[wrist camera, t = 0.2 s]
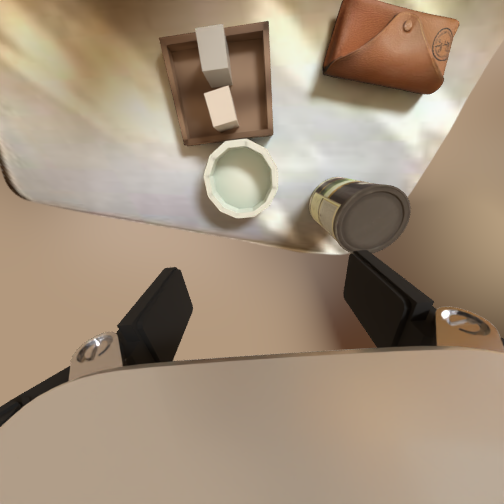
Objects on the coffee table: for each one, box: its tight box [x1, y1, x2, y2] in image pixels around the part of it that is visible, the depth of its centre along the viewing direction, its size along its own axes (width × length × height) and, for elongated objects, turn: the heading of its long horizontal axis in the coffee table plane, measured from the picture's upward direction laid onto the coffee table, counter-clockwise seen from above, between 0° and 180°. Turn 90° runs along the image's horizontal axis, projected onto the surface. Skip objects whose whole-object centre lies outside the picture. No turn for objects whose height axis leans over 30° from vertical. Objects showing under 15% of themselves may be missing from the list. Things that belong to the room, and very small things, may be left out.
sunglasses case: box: [323, 0, 459, 94], centre depth 26 cm, size 18×7×7 cm
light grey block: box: [195, 24, 233, 88], centre depth 26 cm, size 4×4×6 cm
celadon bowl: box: [204, 138, 278, 218], centre depth 34 cm, size 13×13×4 cm
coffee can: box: [309, 177, 410, 253], centre depth 32 cm, size 10×10×14 cm
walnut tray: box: [159, 21, 273, 146], centre depth 29 cm, size 13×16×2 cm
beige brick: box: [204, 85, 239, 133], centre depth 28 cm, size 4×4×6 cm
